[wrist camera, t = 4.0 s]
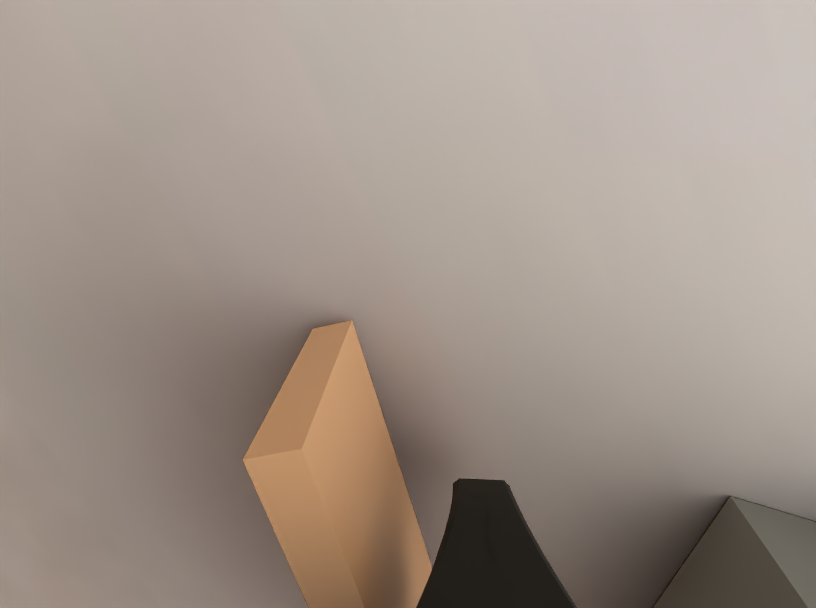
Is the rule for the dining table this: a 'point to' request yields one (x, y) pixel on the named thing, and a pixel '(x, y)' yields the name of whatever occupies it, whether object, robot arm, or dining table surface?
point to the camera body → (748, 562)
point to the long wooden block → (337, 482)
